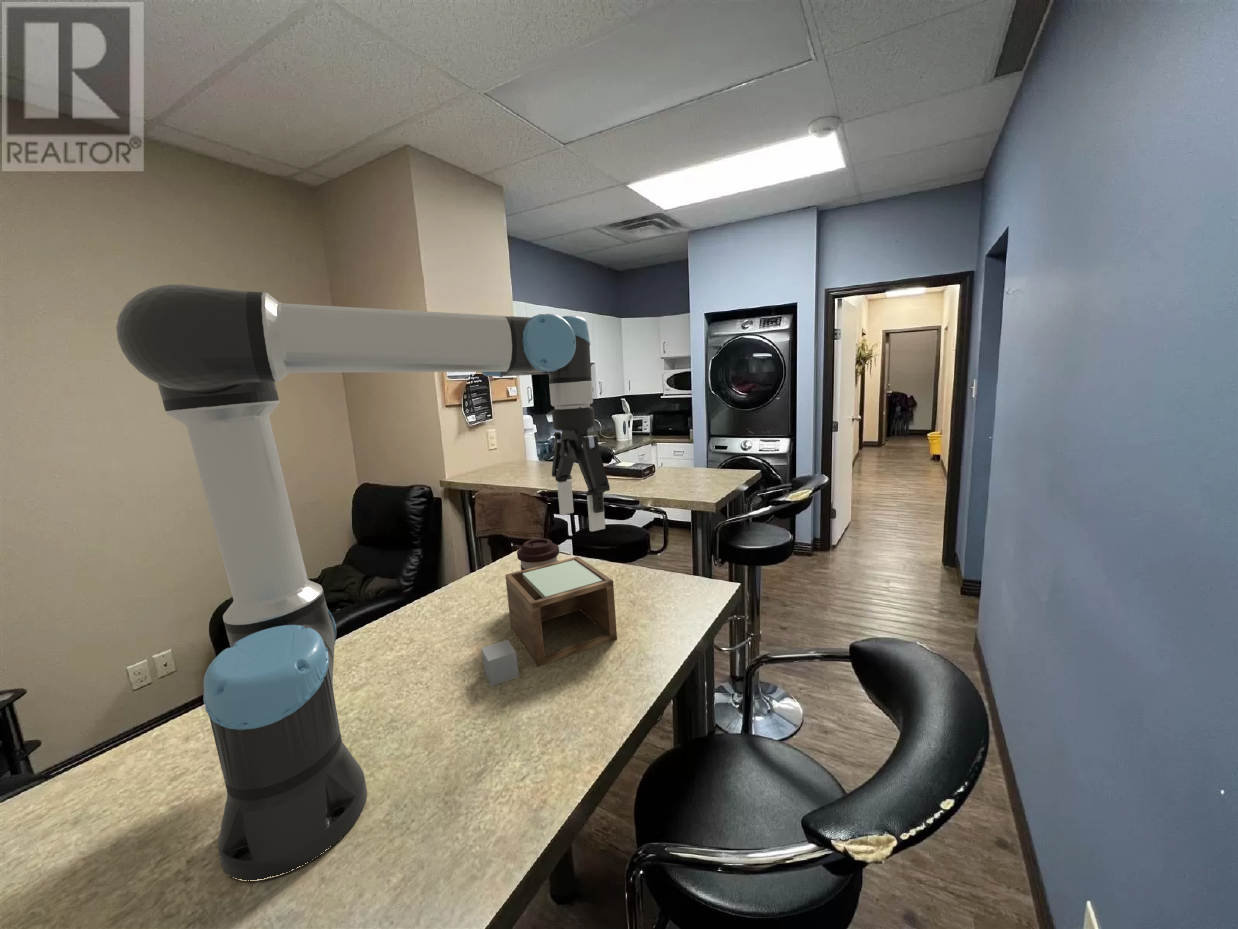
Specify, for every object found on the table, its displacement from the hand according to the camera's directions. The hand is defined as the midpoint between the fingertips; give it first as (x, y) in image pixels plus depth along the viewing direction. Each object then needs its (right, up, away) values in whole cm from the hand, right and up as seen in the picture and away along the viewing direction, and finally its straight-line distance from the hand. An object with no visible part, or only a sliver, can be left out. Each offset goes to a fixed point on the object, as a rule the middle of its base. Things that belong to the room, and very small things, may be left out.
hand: (581, 521), depth 89 cm
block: (-14, -28, -2) cm, 32 cm away
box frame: (-5, -25, +12) cm, 28 cm away
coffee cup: (-11, -23, +27) cm, 37 cm away
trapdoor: (-5, -14, +10) cm, 18 cm away
